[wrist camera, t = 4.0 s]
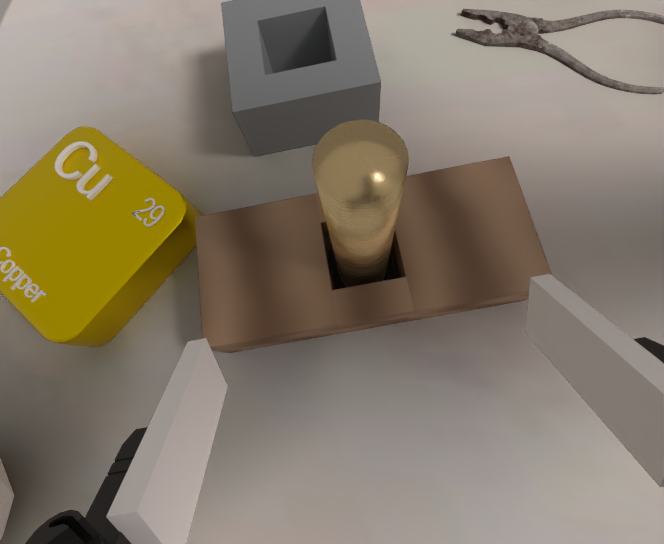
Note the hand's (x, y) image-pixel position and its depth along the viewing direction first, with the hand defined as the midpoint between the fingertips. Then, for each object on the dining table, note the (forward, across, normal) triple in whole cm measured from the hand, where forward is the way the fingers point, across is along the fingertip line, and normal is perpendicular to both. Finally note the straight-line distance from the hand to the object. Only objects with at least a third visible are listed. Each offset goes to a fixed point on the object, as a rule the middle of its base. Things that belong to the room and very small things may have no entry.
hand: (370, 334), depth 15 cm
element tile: (+21, -22, 0) cm, 30 cm away
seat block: (+28, -1, +8) cm, 30 cm away
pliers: (+28, +24, +7) cm, 38 cm away
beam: (+15, +1, -5) cm, 16 cm away
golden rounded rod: (+15, +1, -5) cm, 16 cm away
